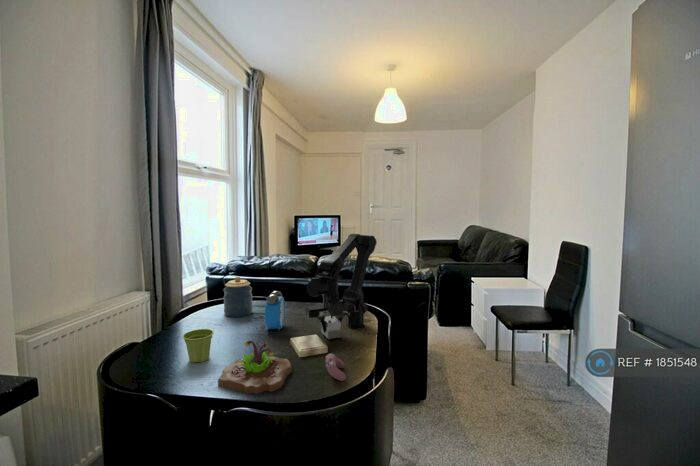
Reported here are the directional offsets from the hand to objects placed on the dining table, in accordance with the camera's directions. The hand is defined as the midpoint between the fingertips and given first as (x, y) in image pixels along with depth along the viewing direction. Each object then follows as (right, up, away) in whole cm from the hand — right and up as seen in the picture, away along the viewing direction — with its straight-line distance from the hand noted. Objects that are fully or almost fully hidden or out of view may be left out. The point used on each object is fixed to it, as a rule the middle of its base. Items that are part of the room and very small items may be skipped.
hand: (330, 331), depth 137 cm
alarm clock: (-24, -2, +10) cm, 26 cm away
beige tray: (-7, -3, -11) cm, 13 cm away
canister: (-45, 0, +30) cm, 54 cm away
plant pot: (-43, -4, -20) cm, 47 cm away
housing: (0, -1, 0) cm, 1 cm away
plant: (-21, -5, -31) cm, 38 cm away
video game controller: (+3, -5, -30) cm, 31 cm away
